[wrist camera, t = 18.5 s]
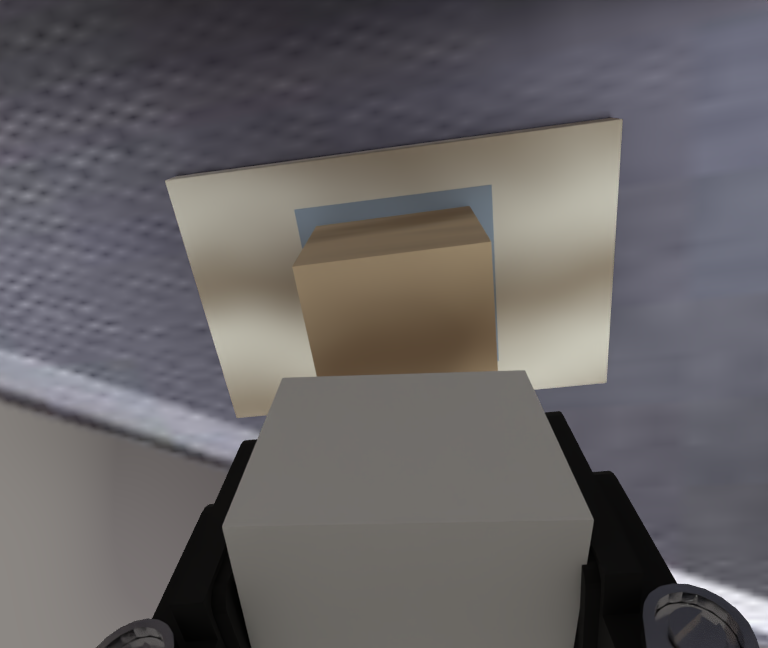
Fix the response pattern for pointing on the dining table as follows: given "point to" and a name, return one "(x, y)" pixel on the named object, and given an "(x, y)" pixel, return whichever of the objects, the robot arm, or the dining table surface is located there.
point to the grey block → (408, 516)
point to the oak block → (399, 295)
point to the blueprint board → (406, 196)
